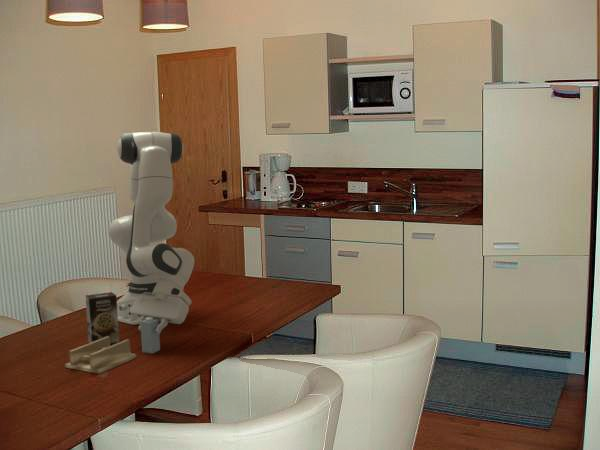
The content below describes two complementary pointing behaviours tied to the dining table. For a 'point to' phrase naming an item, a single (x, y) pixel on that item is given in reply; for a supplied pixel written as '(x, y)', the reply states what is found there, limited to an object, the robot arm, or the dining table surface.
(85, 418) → the dining table surface
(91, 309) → the coffee box
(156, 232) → the robot arm
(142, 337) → the block
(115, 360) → the beige ladder rack
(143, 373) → the dining table surface
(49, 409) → the dining table surface
